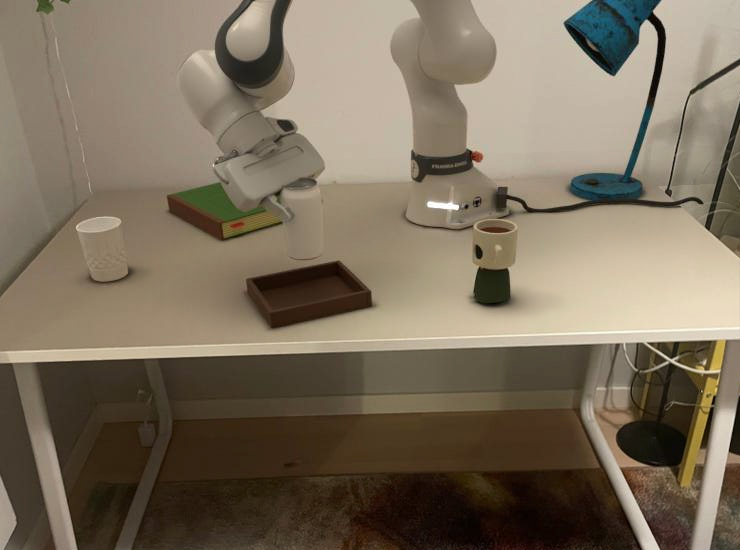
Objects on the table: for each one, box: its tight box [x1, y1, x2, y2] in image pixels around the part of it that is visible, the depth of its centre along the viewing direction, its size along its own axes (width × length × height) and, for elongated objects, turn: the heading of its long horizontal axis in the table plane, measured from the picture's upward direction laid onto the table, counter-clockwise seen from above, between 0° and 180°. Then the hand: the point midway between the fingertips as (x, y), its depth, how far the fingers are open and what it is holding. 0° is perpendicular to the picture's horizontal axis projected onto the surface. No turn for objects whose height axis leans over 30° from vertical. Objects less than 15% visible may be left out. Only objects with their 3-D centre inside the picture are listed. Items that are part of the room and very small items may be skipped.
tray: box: [245, 260, 373, 329], centre depth 128 cm, size 18×15×3 cm
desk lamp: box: [563, 0, 667, 201], centre depth 161 cm, size 16×22×45 cm
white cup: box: [75, 216, 129, 283], centre depth 138 cm, size 8×8×10 cm
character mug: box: [471, 218, 519, 304], centre depth 123 cm, size 11×7×13 cm, turn 179°
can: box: [280, 178, 325, 261], centre depth 121 cm, size 6×6×12 cm
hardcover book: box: [166, 181, 283, 241], centre depth 166 cm, size 25×19×4 cm
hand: (305, 212), depth 120 cm, fingers closed on can, 6 cm apart
